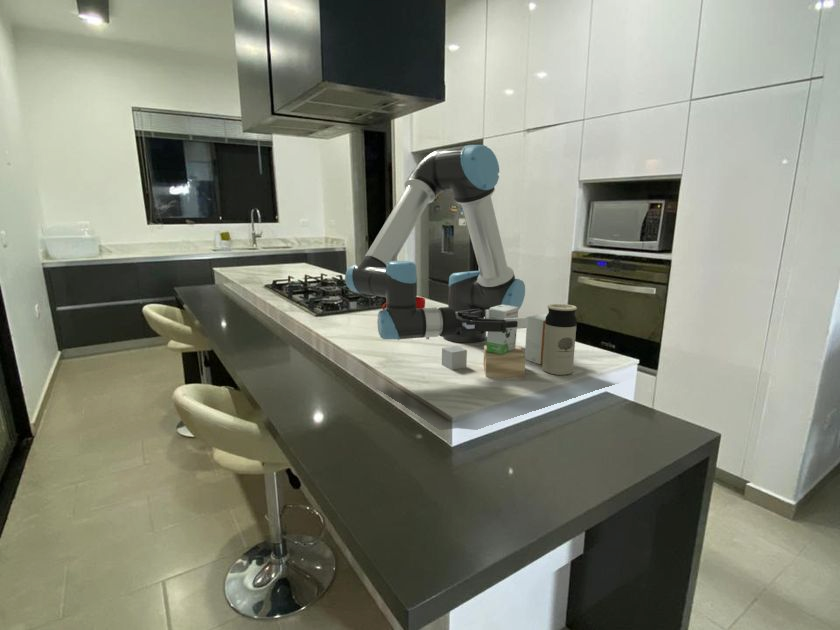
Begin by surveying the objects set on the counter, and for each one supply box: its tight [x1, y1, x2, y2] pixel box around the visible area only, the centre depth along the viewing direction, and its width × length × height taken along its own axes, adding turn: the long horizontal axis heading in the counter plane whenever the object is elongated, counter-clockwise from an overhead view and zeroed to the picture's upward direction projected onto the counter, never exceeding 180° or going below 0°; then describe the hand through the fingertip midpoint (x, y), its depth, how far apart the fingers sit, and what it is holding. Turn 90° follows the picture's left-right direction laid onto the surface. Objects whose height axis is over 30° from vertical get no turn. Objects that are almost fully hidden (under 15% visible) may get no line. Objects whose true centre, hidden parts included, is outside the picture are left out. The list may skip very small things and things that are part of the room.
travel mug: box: [541, 303, 578, 376], centre depth 120 cm, size 8×8×18 cm
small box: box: [524, 313, 548, 365], centre depth 131 cm, size 8×6×13 cm
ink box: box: [486, 305, 519, 354], centre depth 120 cm, size 9×5×12 cm, turn 143°
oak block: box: [482, 344, 526, 379], centre depth 121 cm, size 10×10×6 cm
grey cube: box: [441, 345, 468, 371], centre depth 126 cm, size 5×5×5 cm
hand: (516, 318), depth 120 cm, fingers open, 11 cm apart
